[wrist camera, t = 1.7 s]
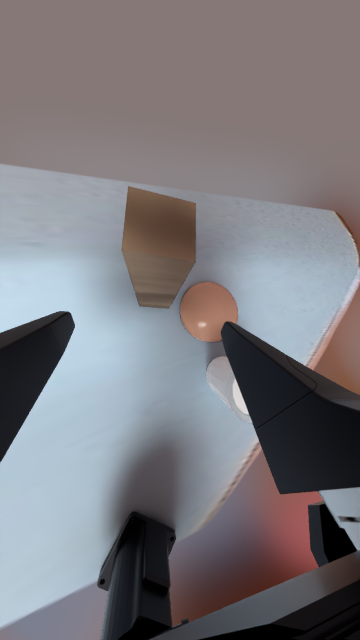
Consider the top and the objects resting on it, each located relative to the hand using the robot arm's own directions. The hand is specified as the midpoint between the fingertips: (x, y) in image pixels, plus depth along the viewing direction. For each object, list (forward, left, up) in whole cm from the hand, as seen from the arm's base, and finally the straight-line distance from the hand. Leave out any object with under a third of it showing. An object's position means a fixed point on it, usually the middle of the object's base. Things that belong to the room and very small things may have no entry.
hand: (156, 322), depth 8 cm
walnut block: (+5, +3, -12) cm, 14 cm away
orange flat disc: (+8, -6, -12) cm, 16 cm away
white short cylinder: (0, -13, -13) cm, 18 cm away
